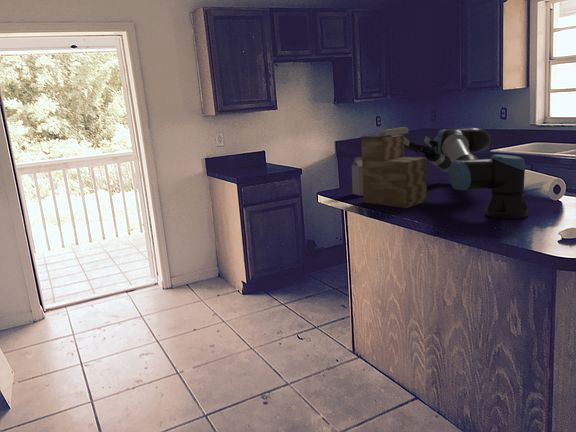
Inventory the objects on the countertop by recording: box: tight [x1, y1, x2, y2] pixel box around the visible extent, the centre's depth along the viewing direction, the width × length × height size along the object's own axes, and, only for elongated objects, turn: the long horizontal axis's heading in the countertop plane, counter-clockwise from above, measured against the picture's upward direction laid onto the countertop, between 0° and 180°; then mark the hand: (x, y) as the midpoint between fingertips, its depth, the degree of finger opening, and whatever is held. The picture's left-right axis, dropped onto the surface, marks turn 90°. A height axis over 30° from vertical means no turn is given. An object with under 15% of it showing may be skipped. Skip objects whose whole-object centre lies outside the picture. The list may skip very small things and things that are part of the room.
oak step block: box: [361, 134, 428, 209], centre depth 228 cm, size 16×24×30 cm, turn 41°
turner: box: [361, 126, 409, 139], centre depth 231 cm, size 27×10×3 cm, turn 131°
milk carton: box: [351, 156, 363, 197], centre depth 252 cm, size 7×7×19 cm
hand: (413, 138), depth 245 cm, fingers open, 13 cm apart
